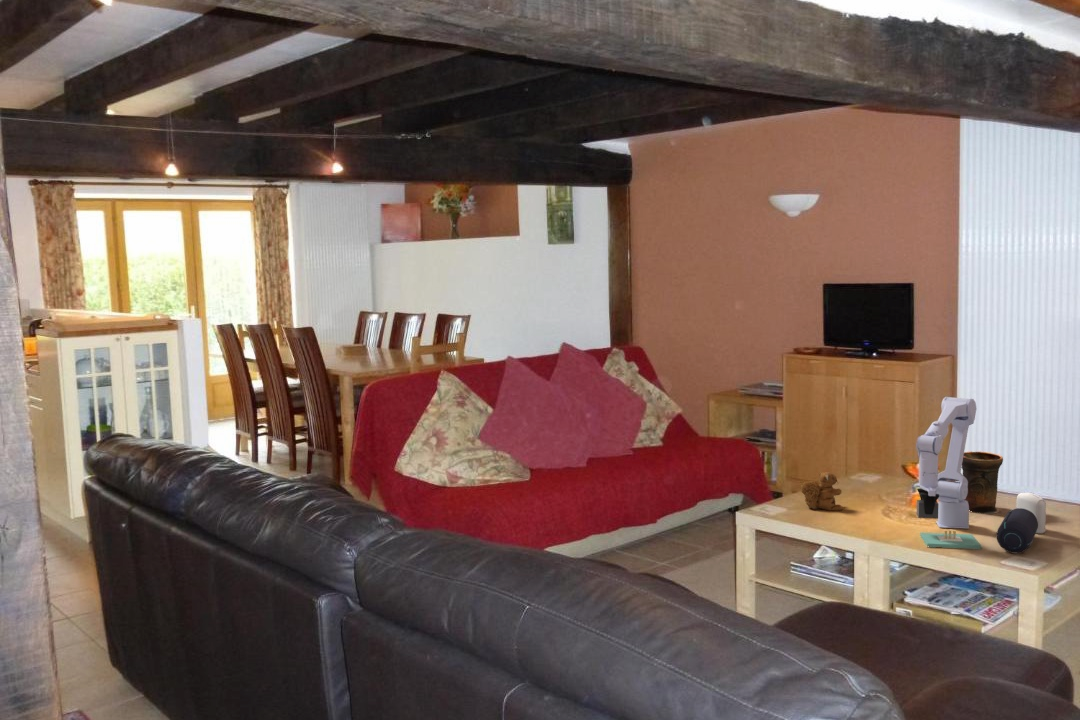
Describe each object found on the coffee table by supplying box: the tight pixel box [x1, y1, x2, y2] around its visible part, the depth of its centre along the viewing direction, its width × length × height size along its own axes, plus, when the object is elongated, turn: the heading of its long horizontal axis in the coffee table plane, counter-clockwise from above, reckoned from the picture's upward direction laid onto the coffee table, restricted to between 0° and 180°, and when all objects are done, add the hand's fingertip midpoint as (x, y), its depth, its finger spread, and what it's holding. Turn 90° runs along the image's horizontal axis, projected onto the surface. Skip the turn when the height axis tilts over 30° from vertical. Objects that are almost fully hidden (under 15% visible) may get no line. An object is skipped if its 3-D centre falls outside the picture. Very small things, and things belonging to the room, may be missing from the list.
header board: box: [919, 530, 982, 550], centre depth 305 cm, size 16×12×4 cm
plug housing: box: [916, 499, 939, 520], centre depth 310 cm, size 6×4×5 cm, turn 77°
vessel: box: [961, 451, 1004, 515], centre depth 342 cm, size 14×14×20 cm
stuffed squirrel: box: [800, 471, 844, 511], centre depth 349 cm, size 10×14×13 cm
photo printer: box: [1015, 492, 1047, 534], centre depth 316 cm, size 10×4×12 cm, turn 14°
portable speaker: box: [996, 507, 1038, 554], centre depth 300 cm, size 25×10×10 cm, turn 147°
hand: (927, 512), depth 310 cm, fingers closed on plug housing, 4 cm apart
